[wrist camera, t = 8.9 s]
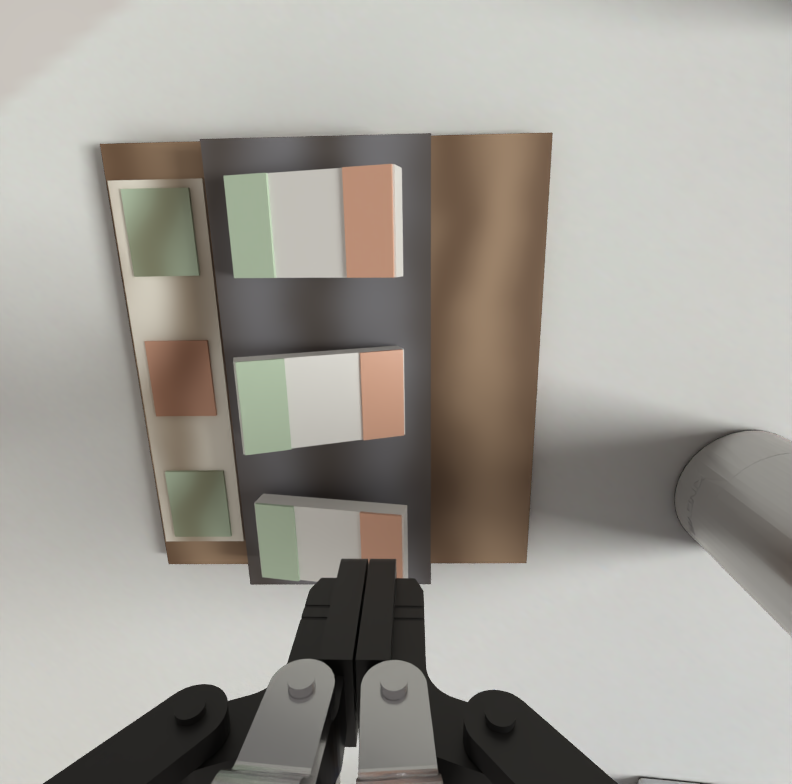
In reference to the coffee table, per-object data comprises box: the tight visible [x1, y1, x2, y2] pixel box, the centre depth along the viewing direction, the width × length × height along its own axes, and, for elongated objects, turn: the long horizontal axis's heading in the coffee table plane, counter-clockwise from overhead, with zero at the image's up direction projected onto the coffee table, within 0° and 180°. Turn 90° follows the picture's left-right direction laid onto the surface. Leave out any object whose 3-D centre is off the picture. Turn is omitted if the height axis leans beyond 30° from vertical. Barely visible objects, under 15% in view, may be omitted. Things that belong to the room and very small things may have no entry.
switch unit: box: [100, 133, 553, 584], centre depth 31 cm, size 26×28×5 cm
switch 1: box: [223, 164, 403, 278], centre depth 25 cm, size 9×5×1 cm, turn 91°
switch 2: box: [233, 346, 405, 455], centre depth 27 cm, size 9×5×1 cm, turn 91°
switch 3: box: [254, 494, 408, 582], centre depth 30 cm, size 9×5×1 cm, turn 91°
